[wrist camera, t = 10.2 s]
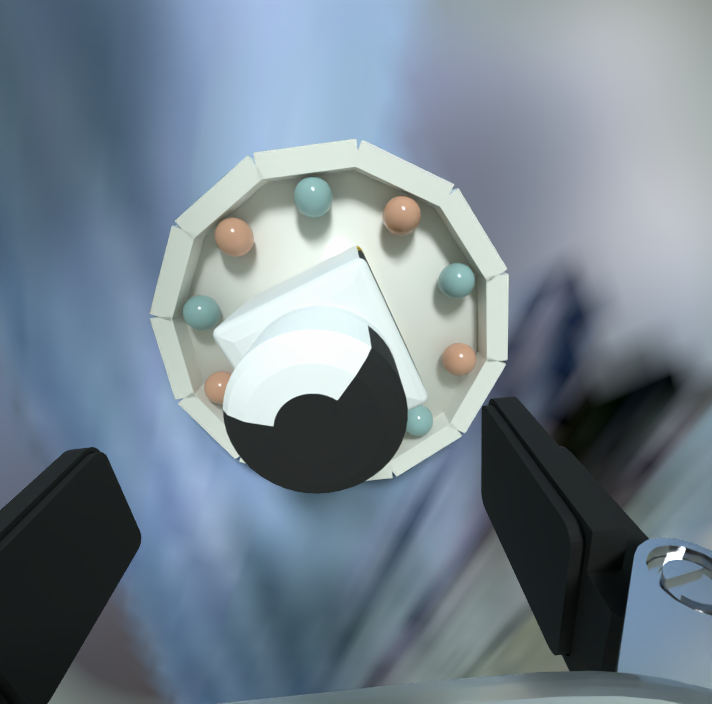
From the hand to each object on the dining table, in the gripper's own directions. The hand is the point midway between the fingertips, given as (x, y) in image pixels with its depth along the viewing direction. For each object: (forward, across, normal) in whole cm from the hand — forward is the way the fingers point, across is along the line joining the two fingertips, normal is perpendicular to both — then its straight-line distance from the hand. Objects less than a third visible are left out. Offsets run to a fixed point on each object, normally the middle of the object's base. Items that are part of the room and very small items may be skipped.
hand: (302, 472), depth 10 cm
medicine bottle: (+14, 0, +1) cm, 15 cm away
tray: (+15, 0, +1) cm, 15 cm away
